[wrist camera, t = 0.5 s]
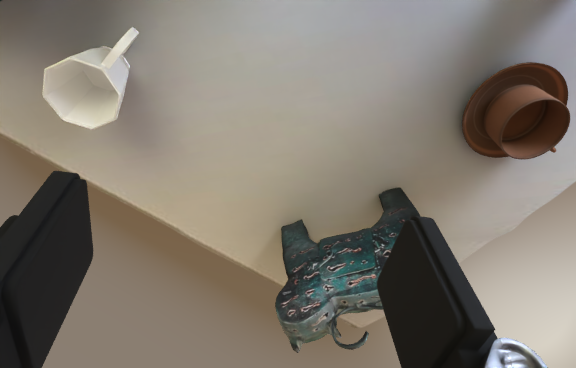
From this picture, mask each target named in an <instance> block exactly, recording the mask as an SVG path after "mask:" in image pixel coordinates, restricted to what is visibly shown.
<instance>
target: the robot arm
mask: <svg viewBox="0 0 576 368" xmlns="http://www.w3.org/2000/svg"><path fill="white" fill-rule="evenodd" d="M92 257H93V243H92V233H91V222H90V212H89V202H88V191H87V183H86V180H83V179H80V176H79V174H77V173H70V172H62V171H53V173H51V175H50V176H49V177H48V178H47V180H46V181H45V182H44V184H43V185H42V186H41V187H40V189H39V190H38V191H37V193H36V194H35V195H34V196H33V198H32V199H31V200H30V202H29V203H28V204H27V206H26V207H25V208H24V209H23V211H22V212H21V213H20V215H19V216H17V215H14V216H11V217H9V218H8V219H7V220H6V221H5V222H4V224H3V225H2V226H1V227H0V368H42V366H43V364H44V361H45V359H46V357H47V355H48V353H49V351H50V349H51V346H52V345H53V342H54V340H55V338H56V336H57V334H58V332H59V329H60V328H61V325H62V323H63V321H64V319H65V317H66V315H67V313H68V310H69V308H70V306H71V304H72V302H73V300H74V298H75V296H76V294H77V291H78V289H79V287H80V285H81V283H82V281H83V279H84V277H85V275H86V272H87V270H88V268H89V266H90V264H91V261H92ZM377 290H378V293H379V297H380V300H381V303H382V306H383V309H384V313H385V316H386V319H387V322H388V326H389V329H390V332H391V335H392V338H393V342H394V345H395V348H396V351H397V355H398V358H399V361H400V364H401V367H402V368H547V366H546V364H545V363H544V362H543V360H542V359H541V358H540V357H539V356H538V355H537V354H536V353H535V352H534V351H533V350H532V349H530V348H529V347H528V346H526V345H525V344H523V343H521V342H519V341H517V340H514V339H510V338H499V339H497V336H496V335H495V333H494V330H495V328H494V326H493V325H492V323H491V321H490V319H489V317H488V316H487V314H486V312H485V310H484V308H483V307H482V305H481V303H480V301H479V300H478V298H477V296H476V294H475V293H474V291H473V289H472V287H471V285H470V283H469V282H468V280H467V278H466V277H465V275H464V273H463V271H462V269H461V267H460V266H459V264H458V262H457V260H456V259H455V257H454V255H453V253H452V251H451V250H450V248H449V246H448V244H447V242H446V241H445V239H444V237H443V235H442V234H441V232H440V230H439V228H438V226H437V225H436V223H435V221H434V220H433V219H432V218H427V217H419V216H413V217H411V218H410V220H406V221H405V222H404V224H403V226H402V228H401V230H400V232H399V235H398V237H397V239H396V241H395V243H394V245H393V247H392V249H391V252H390V254H389V256H388V258H387V260H386V262H385V264H384V266H383V268H382V271H381V273H380V275H379V277H378V280H377Z"/></svg>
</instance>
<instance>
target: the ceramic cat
mask: <svg viewBox="0 0 576 368" xmlns="http://www.w3.org/2000/svg"><path fill="white" fill-rule="evenodd" d="M379 198H380V200H381V203H382V207H383V210H384V212H383V214H382V216H381V218H380V220H379V221H378V222H377V223H376V224H375V225H374V226H373V227H371V228H367V229H363V230H360V231H357V232H352V233H348V234H341V235H336V236H332V237H328V238H324V239H321V240H320V242H319V243H318V244H317V243H315V242H313V241H312V240H311V239H310V238H309V236H308V232H307V229H306V227H305V226H304V224H303V222H302V220H299V221H297V222H295V223H293V224H290V225H286V226H283V227H282V228H281V231H282V248H283V260H284V264H285V269H286V274H287V276H288V281H287V283H286V284H285V286H284V287H283V289H282V290H281V291H280V292H279V294H278V296H277V298H276V303H275V304H276V305H275V307H276V312H277V316H278V319H279V321H280V324H281V326H282V329H283V331H284V333H285V334H286V335H287V337H288V338H289V340H290V343H291V346H292V348H293V350H294V351H296V352H297V353H298V352H299V351H300V349H301V346H302V344H303V343H308V342H311V341H315V340H317V339H320V338H322V337H324V336H325V335H327V334H330V335H332V336H333V338H334V341H335V342H336V344H337V345H338V346H340V347H342V348H345V349H351V350H353V349H356V348H359V347H360V346H362V345H364V343H365V342H366V340H367V338H368V334H369V333H368V332H365V334H364V336H363V338H361V339H360V340H359V341H358V342H357V343H354V344H349V345H345V344H342V343H340V342H338V341H337V340H336V338H335V337H340V338H341V334H340V333H339V331H338V329H337V328H336V325H337V317H338V316H339V315H341V314H346V313H360V312H366V311H370V310H373V309H383V306H382V303H381V300H380V297H379V293H378V290H377V280H378V277H379V275H380V273H381V271H382V268H383V266H384V264H385V262H386V260H387V258H388V256H389V254H390V252H391V249H392V247H393V245H394V243H395V241H396V239H397V237H398V235H399V232H400V230H401V228H402V226H403V224H404V222H405V221H406V220H410V218H411V217H413V216H419V217H420V214H419V213H418V211H417V210H416V208H415V207H414V205H413V204H412V202H411V201H410V200H409V199H408V197H407V196H406V195H405V193H404V192H403V190H402V189H401V188H395V189H390V190H387V191H385V192H383V193H381V194H380V195H379Z"/></svg>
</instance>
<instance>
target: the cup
mask: <svg viewBox="0 0 576 368" xmlns="http://www.w3.org/2000/svg"><path fill="white" fill-rule="evenodd" d="M138 34H139V32H138V31H137V30H136V29H135V28H133V27H131V28H130V29H129V30H128V31H127V32H126V34H125V35H124V36H123V37H122V38H121V39H120V40H119V41H118V43H117V44H116V45H115V46H114V48H110V47H107V46H101V47H99V48H92V49H89V50H87V51H84V52H81V53H79V54H76V55H73V56H71V57H68V58H66V59H64V60H62V61H60V62H58V63H56V64H54V65H51V66H49V67H47V68H45V69H44V81H43V93H42V96H43V98H44V99H45V100H46V101H47V102H48V104H49V105H50V106H51V107H52V108H53V110H54V111H55V112H56V113H57V115H58V116H59V117H60V118H61V119H62V121H65V122H68V123H71V124H75V125H78V126H81V127H84V128H88V129H91V130H94V129H96V128H99V127H101V126H103V125H106V124H108V123H110V122H113V121H115V120H117V117H118V114H119V110H120V106H121V103H122V100H123V97H124V93H125V88H126V83H127V79H128V74H129V69H130V65H129V63H128V62H127V60H126V59H125V57H124V56H123V54H124V53H125V52H126V51H127V49H128V48H129V47H130V45H131V44H132V42H133V41H134V40H135V38H136V37H137V36H138Z"/></svg>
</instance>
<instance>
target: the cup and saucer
mask: <svg viewBox="0 0 576 368" xmlns="http://www.w3.org/2000/svg"><path fill="white" fill-rule="evenodd" d="M567 100H568V88H567V84H566V81H565V79H564V77H563V76H562V75H561V74H560V72H558V71H557V70H556V69H554V68H553V67H551V66H548V65H545V64H541V63H521V64H516V65H513V66H510V67H507V68H505V69H503V70H501V71H499V72H497V73H496V74H494V75H493V76H491V77H490V78H489V79H487V80H486V81H485V82H484V83H483V84H482V85H481V86H480V87H479V88H478V89H477V90H476V91H475V93H474V94H473V95H472V97H471V98H470V100H469V102H468V104H467V106H466V108H465V111H464V114H463V120H462V130H463V134H464V137H465V140H466V142H467V143H468V145H469V146H470V147H471V148H472V149H473V150H474V151H475V152H477V153H479V154H481V155H484V156H487V157H494V158H501V157H508V156H510V157H512V158H515V159H530V158H534V157H537V156H540V155H542V154H544V153H546V152H547V151H549V150H550V151H552V152H556V149H555V148H554V146H555V145H557V144H558V143H559V141H560V140H561V139H562V138H563V136H564V135H565V133H566V132H567V129H568V127H569V123H570V113H569V110H568V108H567V107H566V105H567Z"/></svg>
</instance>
